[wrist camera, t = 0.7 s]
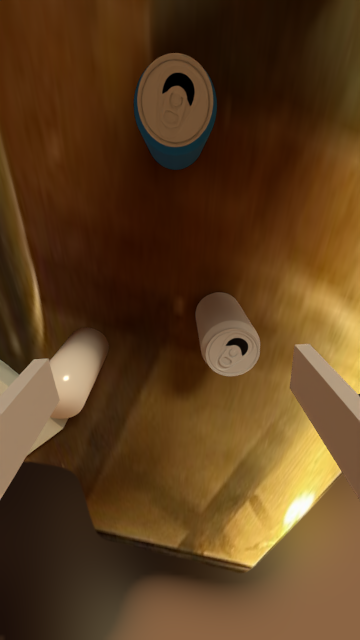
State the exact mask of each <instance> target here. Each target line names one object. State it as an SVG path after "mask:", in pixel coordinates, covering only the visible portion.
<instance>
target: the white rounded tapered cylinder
mask: <svg viewBox="0 0 360 640" xmlns="http://www.w3.org/2000/svg"><path fill="white" fill-rule="evenodd" d="M108 351H109V344H108V341H107V339H106V337H105V336H104V335H103V334H102V333H101V332H100V331H98V330H96V329H93V328H80V329H77V330H76V331H74V332H73V333H72V334H71V335H70V337H69V338H68V339H67V340H66V342H65V343H64V344H63V345H62V347H61V348H60V349H59V350H58V352H57V353H56V354H55V355H54V356H53V358H52V359H51V360H50V361H49V363H50V367H51V370H52V374H53V378H54V381H55V385H56V388H57V392H58V396H59V399H60V401H59V403H58V404H57V406H56V408H55V409H54V411H53V413H52V414H51V416H50V417H52V418H57V419H65V418H70V417H73V416H75V415H76V414H78V413H79V412H80V411H81V410H82V408H83V406H84V404H85V402H86V400H87V397H88V395H89V393H90V391H91V389H92V387H93V384H94V382H95V380H96V378H97V376H98V374H99V371H100V369H101V367H102V365H103V363H104V360H105V358H106V356H107V354H108Z"/></svg>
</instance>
